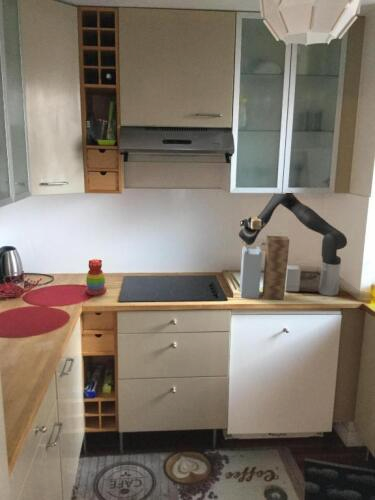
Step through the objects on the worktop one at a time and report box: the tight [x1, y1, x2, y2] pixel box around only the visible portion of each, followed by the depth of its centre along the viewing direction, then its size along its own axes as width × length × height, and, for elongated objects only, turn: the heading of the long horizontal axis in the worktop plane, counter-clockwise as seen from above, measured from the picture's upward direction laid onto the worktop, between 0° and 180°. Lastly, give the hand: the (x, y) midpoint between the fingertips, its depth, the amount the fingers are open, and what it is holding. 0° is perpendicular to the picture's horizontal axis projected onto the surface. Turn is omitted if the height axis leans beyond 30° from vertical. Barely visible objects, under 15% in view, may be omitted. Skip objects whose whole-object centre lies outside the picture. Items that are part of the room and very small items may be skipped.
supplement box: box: [285, 264, 302, 292], centre depth 236 cm, size 7×7×13 cm
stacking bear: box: [84, 258, 107, 296], centre depth 223 cm, size 11×10×18 cm
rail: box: [251, 216, 262, 231], centre depth 222 cm, size 4×15×4 cm, turn 178°
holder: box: [239, 245, 263, 299], centre depth 225 cm, size 9×10×25 cm
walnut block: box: [261, 235, 290, 301], centre depth 220 cm, size 10×7×32 cm
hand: (254, 219), depth 224 cm, fingers closed on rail, 3 cm apart
